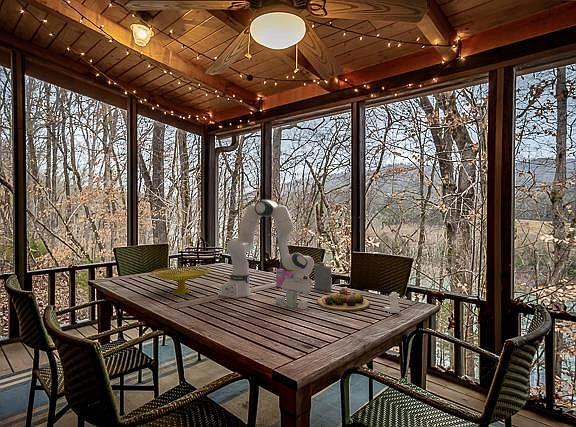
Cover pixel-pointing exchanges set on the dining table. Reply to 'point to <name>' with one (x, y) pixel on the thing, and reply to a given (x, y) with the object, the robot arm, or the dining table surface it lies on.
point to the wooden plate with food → (343, 301)
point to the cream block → (302, 304)
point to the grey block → (280, 300)
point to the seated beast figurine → (393, 304)
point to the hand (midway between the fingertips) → (290, 297)
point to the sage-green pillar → (291, 298)
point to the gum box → (283, 276)
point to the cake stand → (180, 276)
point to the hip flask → (322, 277)
